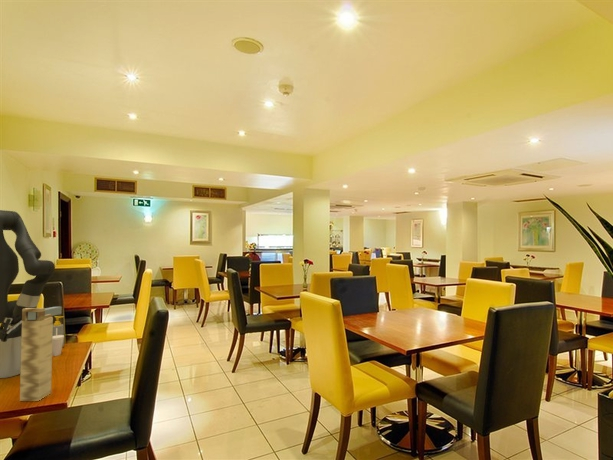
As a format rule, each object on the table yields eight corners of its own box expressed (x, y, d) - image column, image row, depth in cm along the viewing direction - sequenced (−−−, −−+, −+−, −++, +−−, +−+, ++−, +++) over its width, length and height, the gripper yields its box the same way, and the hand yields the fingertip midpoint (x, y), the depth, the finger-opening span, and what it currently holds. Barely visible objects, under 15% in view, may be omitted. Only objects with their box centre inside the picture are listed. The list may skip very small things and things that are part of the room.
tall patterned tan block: (19, 401, 128) (22, 309, 129) (32, 393, 134) (35, 305, 135) (38, 401, 128) (41, 309, 129) (51, 393, 135) (53, 305, 136)
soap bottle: (58, 350, 187) (59, 317, 188) (45, 350, 187) (46, 317, 187) (67, 346, 194) (68, 315, 194) (55, 346, 194) (55, 315, 194)
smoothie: (61, 352, 184) (62, 326, 184) (65, 354, 180) (66, 328, 180) (47, 355, 179) (48, 328, 180) (50, 357, 175) (51, 330, 175)
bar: (27, 319, 129) (28, 311, 129) (54, 313, 143) (54, 306, 144) (35, 319, 129) (36, 311, 129) (61, 313, 143) (61, 306, 144)
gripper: (35, 299, 157) (22, 333, 155) (3, 302, 143) (-11, 339, 141) (48, 305, 155) (35, 339, 154) (17, 307, 141) (3, 345, 140)
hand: (13, 339), depth 147 cm, fingers open, 8 cm apart
